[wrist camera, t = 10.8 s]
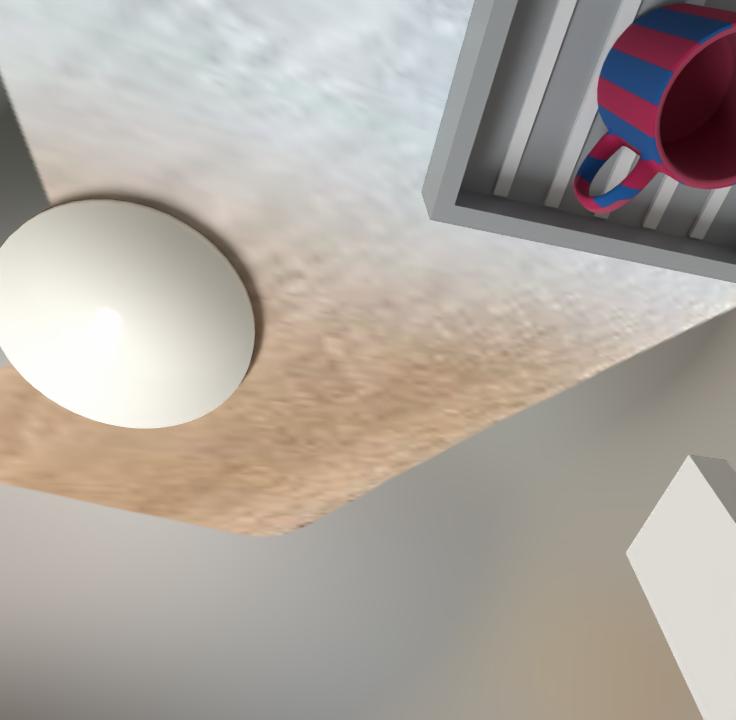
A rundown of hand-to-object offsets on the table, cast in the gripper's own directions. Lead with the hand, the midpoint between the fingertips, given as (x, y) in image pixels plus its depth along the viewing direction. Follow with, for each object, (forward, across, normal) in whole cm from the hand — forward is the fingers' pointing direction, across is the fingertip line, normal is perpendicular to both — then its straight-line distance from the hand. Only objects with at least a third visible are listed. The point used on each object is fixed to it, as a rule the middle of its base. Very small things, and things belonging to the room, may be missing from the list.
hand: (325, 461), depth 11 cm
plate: (+27, -11, -15) cm, 33 cm away
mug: (+25, +15, +4) cm, 30 cm away
